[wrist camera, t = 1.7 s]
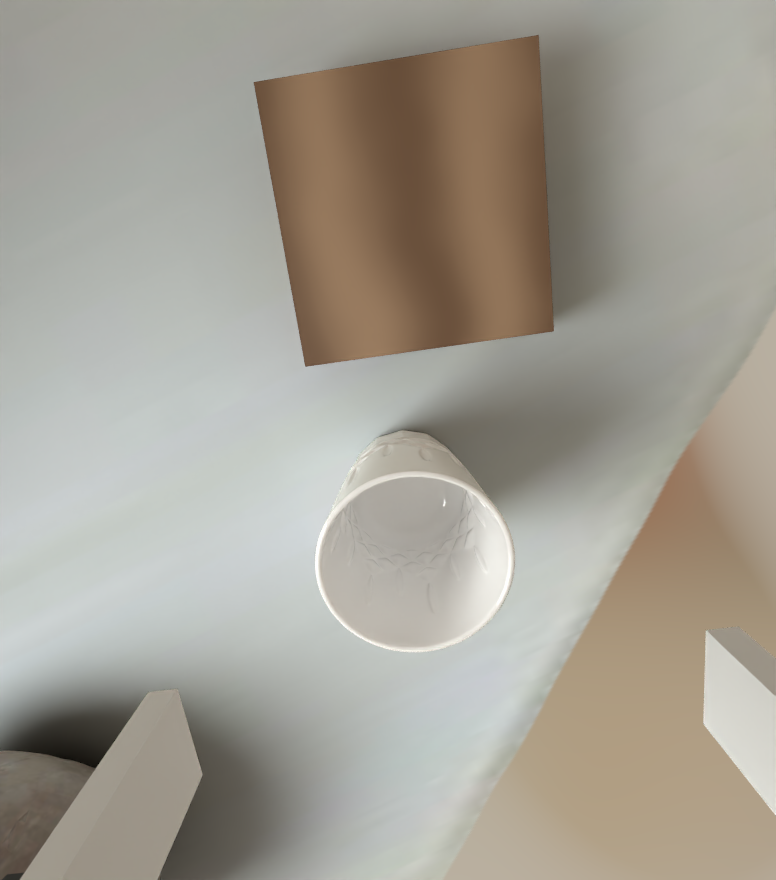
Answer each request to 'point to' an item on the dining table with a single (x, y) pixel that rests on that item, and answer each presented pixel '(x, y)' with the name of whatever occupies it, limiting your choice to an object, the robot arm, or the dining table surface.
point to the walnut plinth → (412, 200)
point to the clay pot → (33, 803)
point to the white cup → (413, 548)
